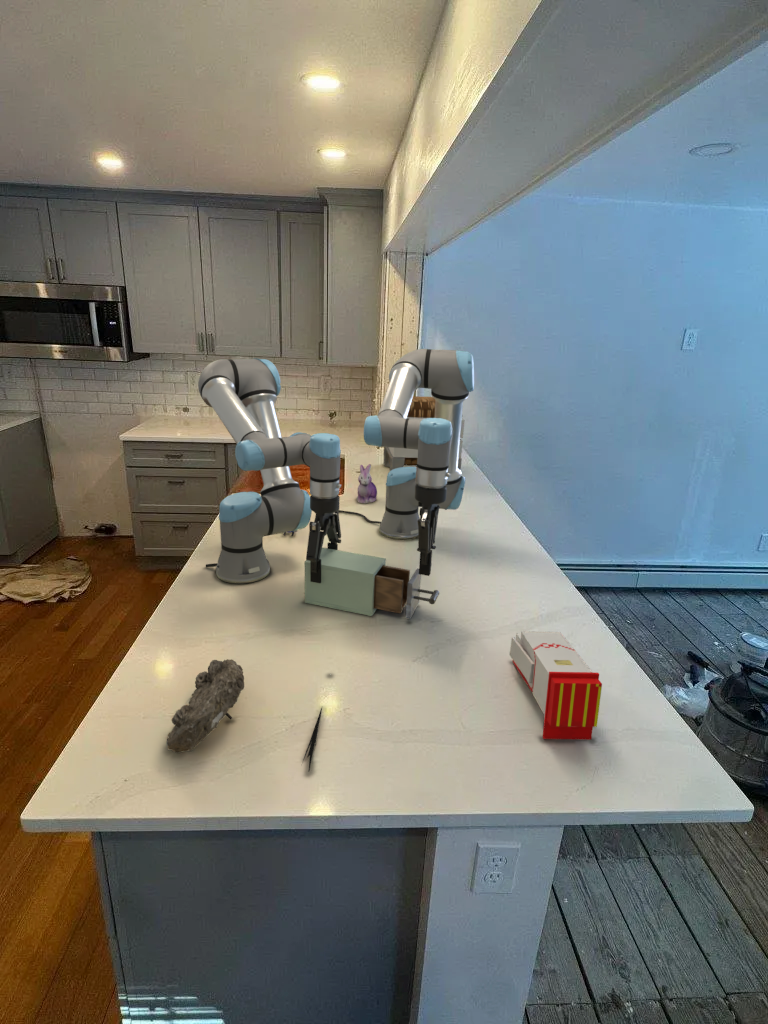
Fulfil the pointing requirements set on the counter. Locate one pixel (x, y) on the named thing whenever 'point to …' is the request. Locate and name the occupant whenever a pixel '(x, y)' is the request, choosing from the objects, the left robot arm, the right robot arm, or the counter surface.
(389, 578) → the drawer
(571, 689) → the toy
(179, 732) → the fossil
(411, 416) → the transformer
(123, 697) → the counter surface
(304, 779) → the counter surface
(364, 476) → the figurine
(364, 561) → the cabinet
